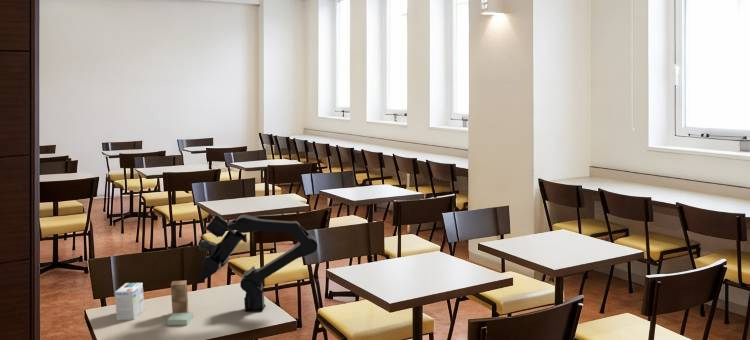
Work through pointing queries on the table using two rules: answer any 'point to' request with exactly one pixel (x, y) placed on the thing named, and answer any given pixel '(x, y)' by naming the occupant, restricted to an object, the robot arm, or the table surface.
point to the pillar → (179, 296)
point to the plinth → (180, 319)
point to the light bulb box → (129, 301)
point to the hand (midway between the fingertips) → (202, 278)
